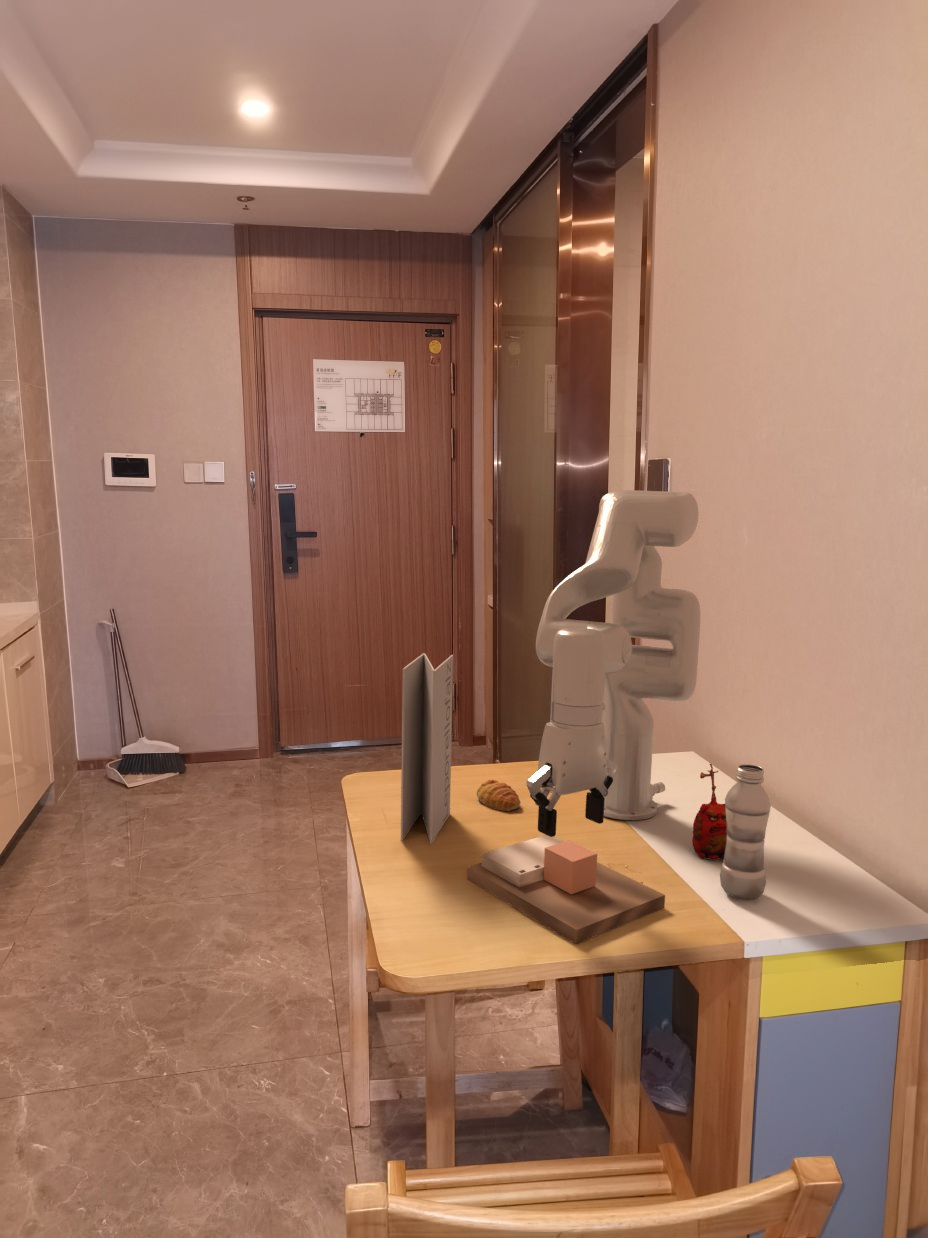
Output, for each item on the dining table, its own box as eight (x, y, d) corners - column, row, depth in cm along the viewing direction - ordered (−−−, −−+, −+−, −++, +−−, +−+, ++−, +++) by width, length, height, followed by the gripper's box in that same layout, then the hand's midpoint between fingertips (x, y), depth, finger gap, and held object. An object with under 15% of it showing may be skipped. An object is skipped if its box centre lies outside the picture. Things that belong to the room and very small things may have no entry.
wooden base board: (552, 852, 150) (553, 829, 150) (664, 908, 132) (665, 881, 131) (467, 879, 140) (467, 854, 139) (576, 944, 121) (577, 915, 120)
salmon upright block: (567, 871, 138) (568, 840, 137) (595, 885, 133) (597, 853, 133) (543, 879, 135) (544, 848, 134) (571, 894, 130) (572, 862, 130)
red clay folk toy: (700, 864, 147) (706, 776, 145) (683, 846, 154) (689, 762, 152) (744, 862, 148) (750, 774, 146) (725, 845, 155) (731, 761, 153)
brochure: (431, 843, 153) (435, 671, 148) (400, 840, 154) (402, 668, 149) (449, 814, 167) (453, 654, 162) (421, 811, 168) (423, 653, 163)
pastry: (529, 809, 170) (529, 790, 170) (500, 816, 167) (500, 796, 166) (500, 794, 178) (500, 776, 178) (472, 800, 175) (472, 782, 174)
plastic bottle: (758, 909, 132) (768, 778, 129) (712, 897, 136) (721, 769, 132) (769, 892, 137) (779, 766, 134) (725, 881, 141) (734, 758, 138)
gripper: (599, 702, 138) (593, 809, 141) (514, 715, 128) (509, 831, 130) (636, 712, 132) (630, 823, 135) (550, 727, 122) (544, 848, 124)
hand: (570, 827), depth 132 cm, fingers open, 9 cm apart
